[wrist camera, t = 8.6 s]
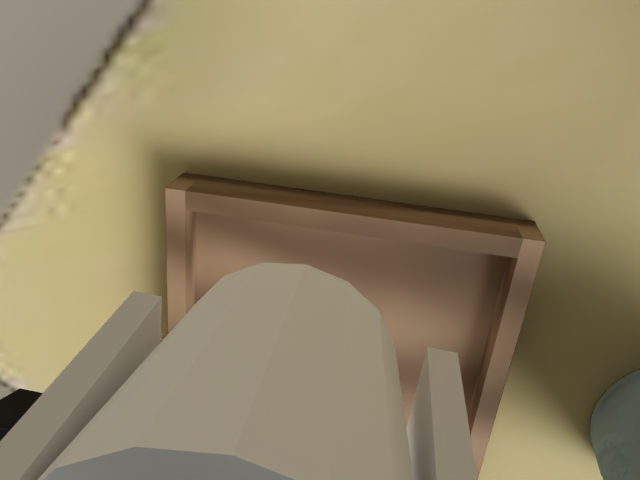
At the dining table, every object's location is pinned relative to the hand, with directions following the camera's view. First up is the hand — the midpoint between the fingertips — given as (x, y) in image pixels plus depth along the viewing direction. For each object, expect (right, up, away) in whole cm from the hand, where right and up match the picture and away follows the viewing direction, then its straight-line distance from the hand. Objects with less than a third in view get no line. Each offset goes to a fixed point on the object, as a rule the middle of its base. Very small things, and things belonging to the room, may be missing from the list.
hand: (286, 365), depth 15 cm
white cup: (0, 0, 0) cm, 1 cm away
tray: (+2, -3, +18) cm, 18 cm away
